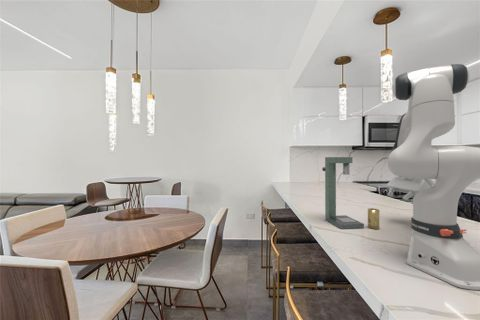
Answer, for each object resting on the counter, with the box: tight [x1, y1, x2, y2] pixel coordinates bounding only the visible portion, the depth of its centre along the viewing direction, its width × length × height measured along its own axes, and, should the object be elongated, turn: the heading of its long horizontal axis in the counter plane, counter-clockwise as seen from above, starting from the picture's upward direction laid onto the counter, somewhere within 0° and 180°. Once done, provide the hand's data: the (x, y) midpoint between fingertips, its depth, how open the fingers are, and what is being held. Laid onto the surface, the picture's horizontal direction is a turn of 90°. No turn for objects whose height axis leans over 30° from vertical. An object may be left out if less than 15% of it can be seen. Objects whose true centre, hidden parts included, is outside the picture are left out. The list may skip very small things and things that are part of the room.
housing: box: [367, 207, 380, 230], centre depth 111 cm, size 5×5×9 cm
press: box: [321, 156, 365, 230], centre depth 121 cm, size 22×12×35 cm, turn 5°
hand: (396, 197), depth 112 cm, fingers open, 8 cm apart
